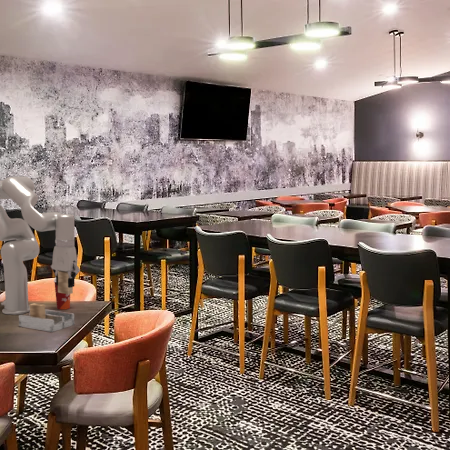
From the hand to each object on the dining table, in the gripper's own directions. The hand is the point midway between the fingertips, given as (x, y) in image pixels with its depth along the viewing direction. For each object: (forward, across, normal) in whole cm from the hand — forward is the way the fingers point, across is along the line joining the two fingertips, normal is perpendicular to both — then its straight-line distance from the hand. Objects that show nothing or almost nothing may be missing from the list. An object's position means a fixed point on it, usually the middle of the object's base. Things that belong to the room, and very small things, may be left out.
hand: (65, 285), depth 252 cm
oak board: (+14, -1, -15) cm, 21 cm away
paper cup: (+15, -14, +13) cm, 24 cm away
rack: (+14, +1, -12) cm, 19 cm away
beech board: (+3, 0, 0) cm, 3 cm away
